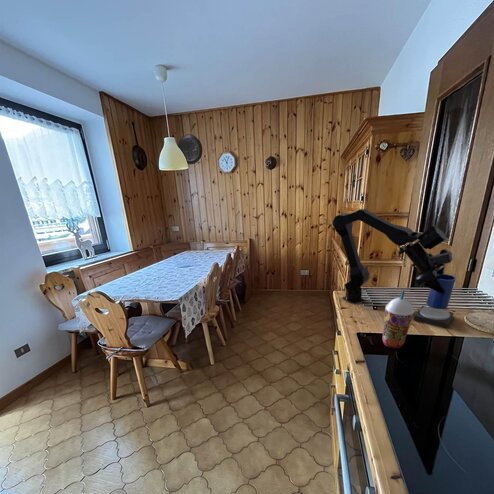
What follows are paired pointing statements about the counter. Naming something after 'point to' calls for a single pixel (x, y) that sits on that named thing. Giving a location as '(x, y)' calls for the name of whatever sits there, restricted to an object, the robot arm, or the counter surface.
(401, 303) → the smoothie
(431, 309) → the scale
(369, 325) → the counter surface
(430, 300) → the tumbler
